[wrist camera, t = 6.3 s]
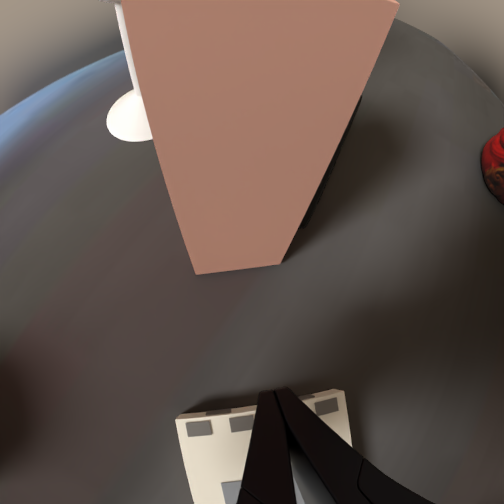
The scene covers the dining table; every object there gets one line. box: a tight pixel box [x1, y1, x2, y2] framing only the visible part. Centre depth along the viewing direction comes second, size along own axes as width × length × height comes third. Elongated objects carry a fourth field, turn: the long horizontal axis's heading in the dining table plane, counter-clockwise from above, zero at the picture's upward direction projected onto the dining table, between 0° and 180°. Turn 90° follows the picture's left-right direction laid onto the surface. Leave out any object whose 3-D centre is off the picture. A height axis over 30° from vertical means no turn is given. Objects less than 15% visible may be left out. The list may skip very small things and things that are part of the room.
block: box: [121, 0, 400, 275], centre depth 10 cm, size 5×5×14 cm
